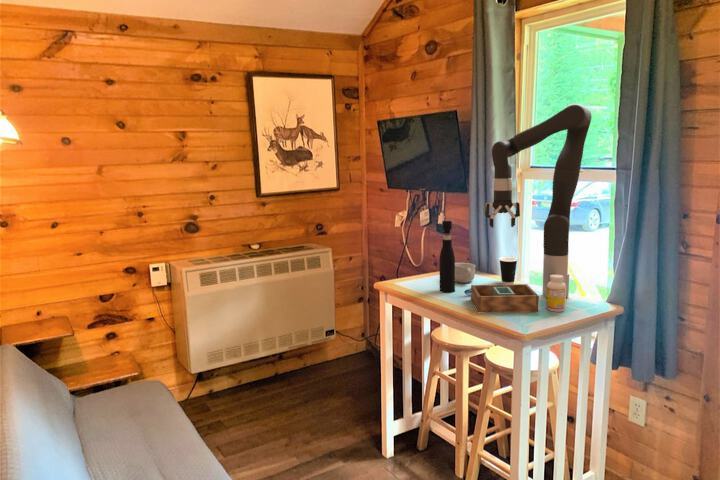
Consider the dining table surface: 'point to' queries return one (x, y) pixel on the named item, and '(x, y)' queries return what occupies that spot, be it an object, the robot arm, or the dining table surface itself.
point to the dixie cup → (508, 269)
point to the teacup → (464, 272)
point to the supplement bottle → (556, 294)
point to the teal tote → (502, 291)
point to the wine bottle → (447, 261)
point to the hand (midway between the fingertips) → (502, 227)
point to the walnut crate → (504, 299)
